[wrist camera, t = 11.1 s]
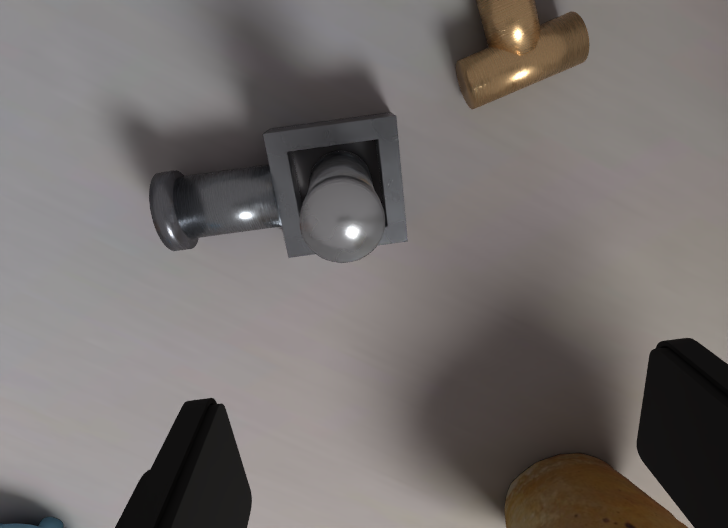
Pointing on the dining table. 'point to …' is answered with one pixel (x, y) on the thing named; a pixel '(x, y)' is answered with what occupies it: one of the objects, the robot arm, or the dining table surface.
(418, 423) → the dining table surface
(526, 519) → the potted plant
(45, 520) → the teapot
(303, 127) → the grey framed piece
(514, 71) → the bronze tee
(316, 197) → the silver capped cylinder
